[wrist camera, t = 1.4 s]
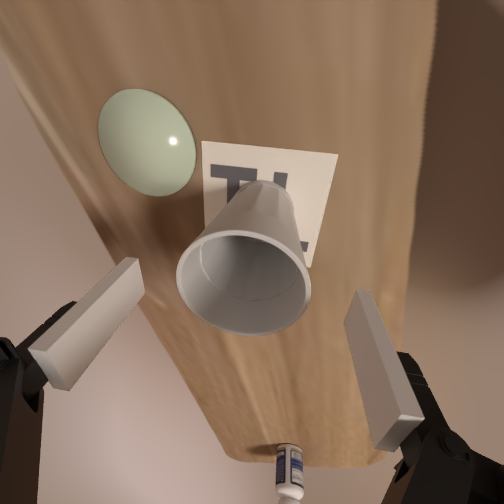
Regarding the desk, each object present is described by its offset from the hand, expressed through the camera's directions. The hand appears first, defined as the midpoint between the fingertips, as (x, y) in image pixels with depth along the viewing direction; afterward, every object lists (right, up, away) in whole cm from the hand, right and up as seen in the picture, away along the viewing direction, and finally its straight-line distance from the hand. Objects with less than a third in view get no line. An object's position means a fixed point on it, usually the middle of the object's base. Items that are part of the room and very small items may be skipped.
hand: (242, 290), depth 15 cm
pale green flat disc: (-9, +12, +8) cm, 17 cm away
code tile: (+2, +6, +10) cm, 12 cm away
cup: (+2, +7, +10) cm, 12 cm away
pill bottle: (+9, -40, +38) cm, 56 cm away
